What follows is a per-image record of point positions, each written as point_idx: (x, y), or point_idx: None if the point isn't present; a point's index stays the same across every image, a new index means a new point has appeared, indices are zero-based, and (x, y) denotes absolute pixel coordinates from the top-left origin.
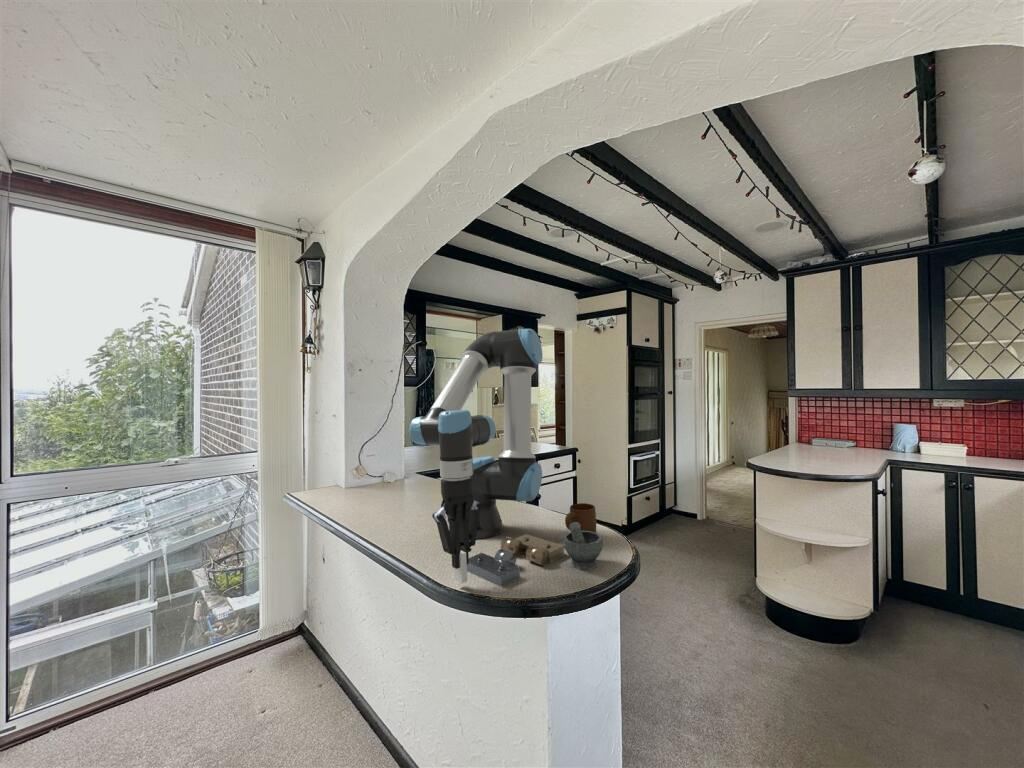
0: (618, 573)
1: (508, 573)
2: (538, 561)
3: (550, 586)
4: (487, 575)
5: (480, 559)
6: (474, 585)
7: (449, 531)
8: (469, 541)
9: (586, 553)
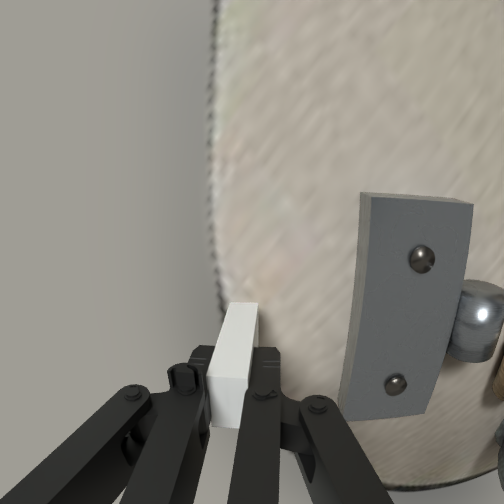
0: (491, 469)
1: (375, 418)
2: (494, 387)
3: (403, 456)
4: (350, 352)
5: (417, 270)
6: (292, 333)
7: (129, 481)
8: (297, 448)
9: (499, 478)
